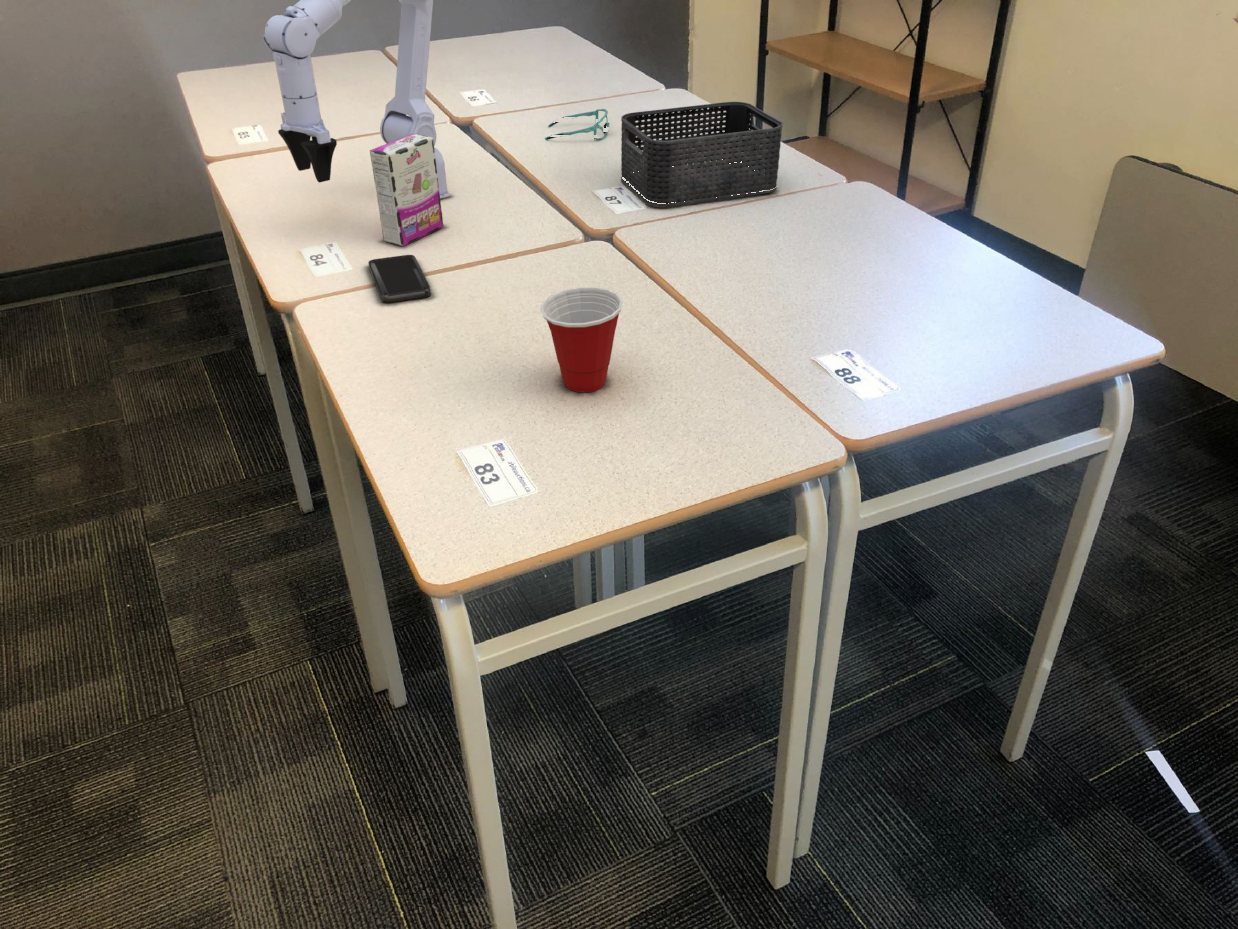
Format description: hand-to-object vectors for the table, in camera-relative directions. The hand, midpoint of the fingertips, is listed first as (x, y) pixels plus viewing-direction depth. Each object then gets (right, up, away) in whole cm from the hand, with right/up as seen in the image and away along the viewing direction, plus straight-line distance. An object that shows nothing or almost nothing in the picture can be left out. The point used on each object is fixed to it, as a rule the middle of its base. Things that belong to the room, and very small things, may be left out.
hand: (314, 174), depth 167 cm
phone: (+18, -21, -12) cm, 30 cm away
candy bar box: (+17, -10, +5) cm, 20 cm away
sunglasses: (+44, +26, +55) cm, 75 cm away
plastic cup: (+49, -40, -37) cm, 73 cm away
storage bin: (+70, +6, +27) cm, 75 cm away
